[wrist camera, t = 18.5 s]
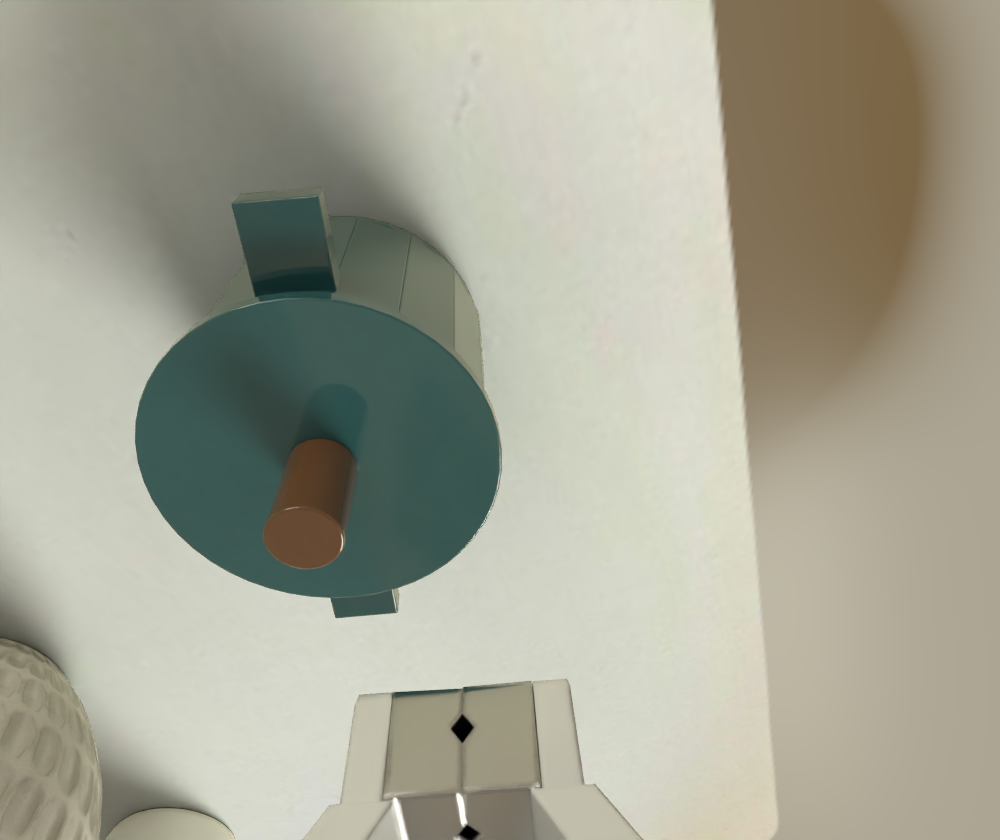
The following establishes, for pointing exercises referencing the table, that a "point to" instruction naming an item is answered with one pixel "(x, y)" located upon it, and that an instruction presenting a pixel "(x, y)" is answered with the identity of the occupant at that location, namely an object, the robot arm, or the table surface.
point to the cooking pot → (350, 285)
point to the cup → (170, 826)
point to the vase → (45, 752)
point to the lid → (319, 444)
